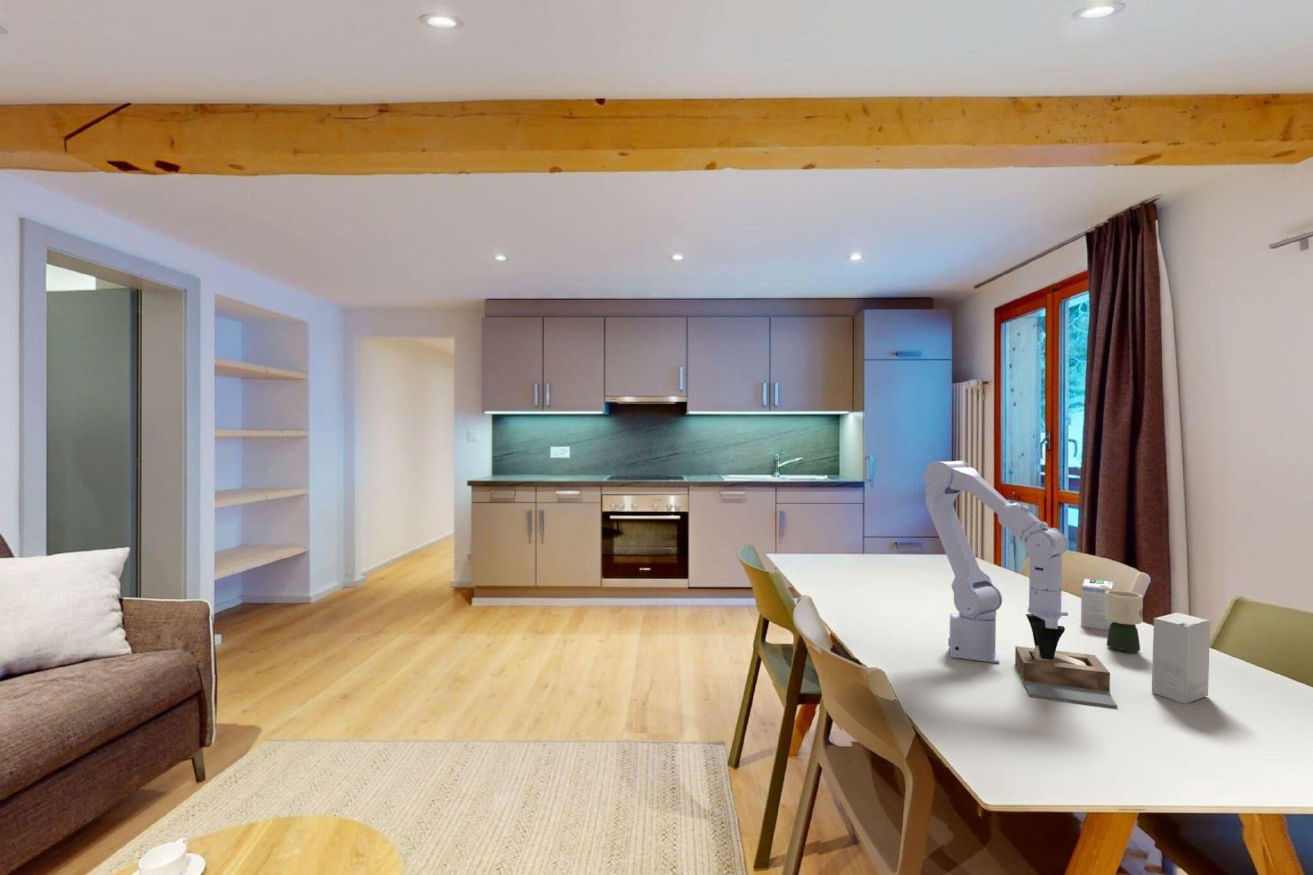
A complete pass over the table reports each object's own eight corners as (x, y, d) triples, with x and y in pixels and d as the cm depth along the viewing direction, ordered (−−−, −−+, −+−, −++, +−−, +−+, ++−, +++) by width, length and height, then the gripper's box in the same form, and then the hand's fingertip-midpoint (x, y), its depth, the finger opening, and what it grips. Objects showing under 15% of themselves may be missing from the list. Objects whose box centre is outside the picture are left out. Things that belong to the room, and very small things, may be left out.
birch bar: (1080, 670, 135) (1083, 661, 135) (1086, 678, 131) (1089, 668, 130) (1032, 653, 138) (1035, 644, 138) (1036, 660, 134) (1039, 651, 134)
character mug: (1151, 659, 146) (1151, 600, 146) (1113, 655, 148) (1114, 597, 148) (1132, 644, 156) (1132, 589, 156) (1097, 641, 158) (1098, 587, 158)
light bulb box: (1082, 617, 180) (1083, 577, 180) (1112, 621, 176) (1113, 581, 176) (1080, 626, 171) (1080, 584, 171) (1111, 631, 167) (1112, 588, 167)
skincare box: (1174, 686, 130) (1175, 611, 130) (1210, 697, 124) (1212, 619, 124) (1149, 693, 126) (1151, 616, 126) (1186, 705, 121) (1187, 624, 121)
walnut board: (1094, 673, 137) (1094, 655, 137) (1109, 692, 126) (1109, 672, 126) (1015, 663, 142) (1015, 646, 142) (1023, 681, 132) (1023, 662, 132)
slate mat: (1029, 696, 124) (1029, 693, 124) (1023, 683, 131) (1023, 680, 131) (1117, 708, 119) (1117, 705, 119) (1106, 693, 126) (1106, 691, 126)
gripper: (1076, 598, 127) (1075, 668, 127) (1060, 582, 140) (1059, 646, 140) (1034, 594, 129) (1033, 663, 129) (1022, 579, 143) (1021, 642, 143)
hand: (1044, 654), depth 135 cm, fingers open, 5 cm apart
